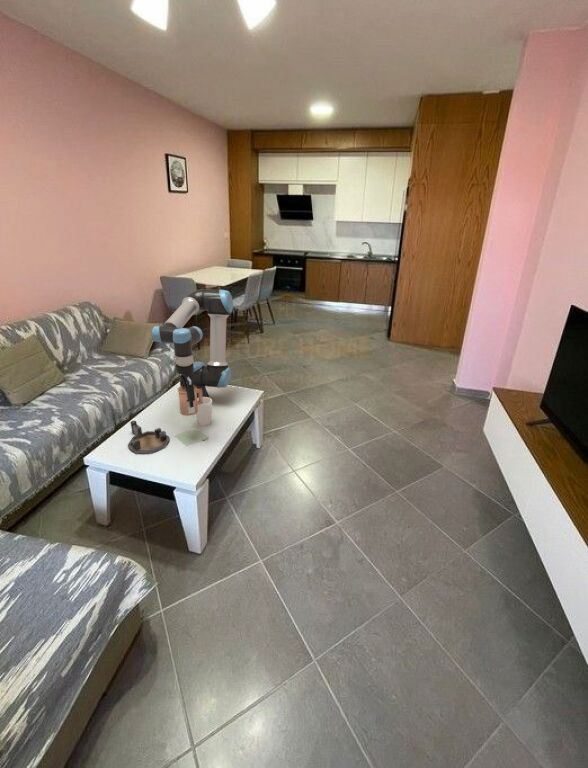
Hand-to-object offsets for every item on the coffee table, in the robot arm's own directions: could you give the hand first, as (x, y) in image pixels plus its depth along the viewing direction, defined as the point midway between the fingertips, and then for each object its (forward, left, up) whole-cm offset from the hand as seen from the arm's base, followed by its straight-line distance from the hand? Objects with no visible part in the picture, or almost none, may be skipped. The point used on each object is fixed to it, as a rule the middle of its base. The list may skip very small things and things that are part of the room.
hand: (189, 408), depth 171 cm
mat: (0, 0, -16) cm, 16 cm away
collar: (+18, -11, -15) cm, 26 cm away
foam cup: (-12, -9, -16) cm, 22 cm away
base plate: (+18, -8, -16) cm, 25 cm away
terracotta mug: (-1, 0, -1) cm, 2 cm away
